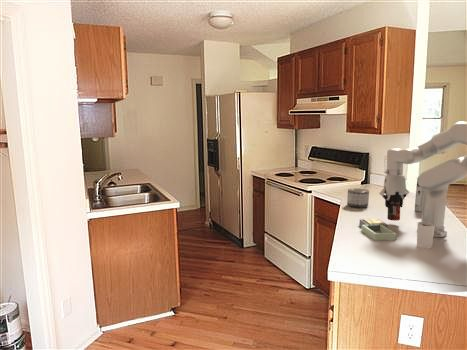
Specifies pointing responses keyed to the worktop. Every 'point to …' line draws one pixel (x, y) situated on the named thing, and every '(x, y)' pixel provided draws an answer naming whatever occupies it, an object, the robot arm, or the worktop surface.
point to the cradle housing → (373, 225)
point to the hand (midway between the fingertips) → (393, 206)
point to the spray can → (419, 198)
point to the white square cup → (425, 234)
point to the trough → (385, 234)
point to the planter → (358, 197)
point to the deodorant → (394, 207)
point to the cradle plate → (373, 221)
